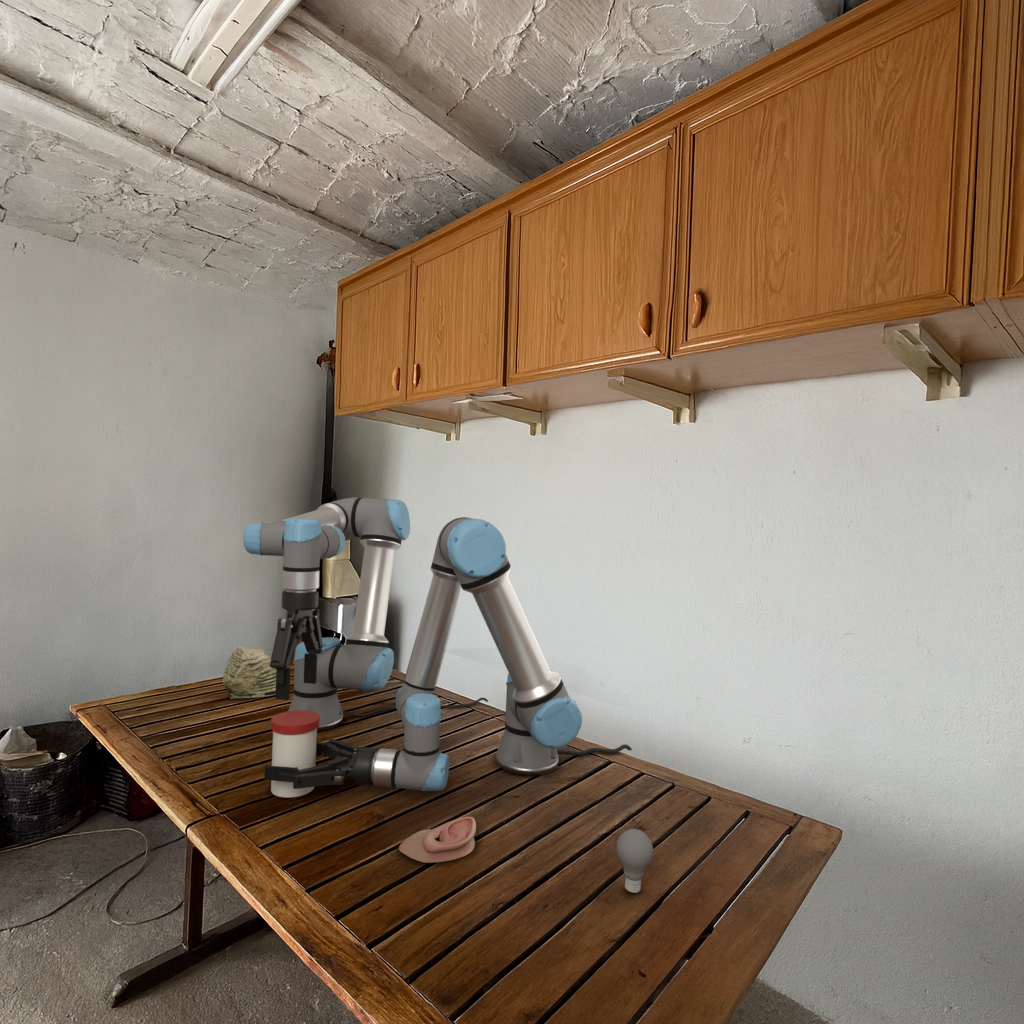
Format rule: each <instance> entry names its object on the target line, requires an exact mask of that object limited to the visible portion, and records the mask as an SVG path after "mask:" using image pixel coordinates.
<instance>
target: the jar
mask: <svg viewBox="0 0 1024 1024" xmlns="http://www.w3.org/2000/svg"><path fill="white" fill-rule="evenodd" d="M317 738H318V732H317V729H315V730H313V731H310V732H307V733H302V734H294V735H287V734H279V733H276V732H274V731H272V745H271V747H272V751H271V766H281V767H293V768H295V767H297V768H298V770H301V769H306V768H311V767H316V766H317V763H316V762H317V756H316V742H317ZM314 789H315V787H308V788H299V789H294V788H293V782H284V781H272V780H270V793H272V794H273V795H274V796H276V797H278V798H297V797H302V796H305V795H307V794H309V793H310V792H312V791H313V790H314Z"/></svg>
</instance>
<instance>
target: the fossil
mask: <svg viewBox="0 0 1024 1024" xmlns="http://www.w3.org/2000/svg"><path fill="white" fill-rule="evenodd" d="M270 661H271V657H270V656H269V655H268V654H267V653H266V652H265V650H264V649H263V648H260V647H258V648H251V647H247V646H246V647H245V646H238V647H237V648H236V649H235V650H233V651H232V653H231V656H230V657H229V659H228V660H227V663H226V666H225V668H224V671H223V675H222V676H223V677H222V685H223V687H224V688H225V690H226V691H228V693H229V698H230V699H250V698H264V697H271V696H275V694H276V668H271V667H270Z"/></svg>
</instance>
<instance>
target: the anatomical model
mask: <svg viewBox="0 0 1024 1024" xmlns="http://www.w3.org/2000/svg"><path fill="white" fill-rule="evenodd" d="M476 832H477V823H476V819H475V818H474V817H473V816H462V817H458V818H456V819H453V820H451V821H447V822H445V823H443V824H441V825H439V826H435V827H434V828H432V829H431V828H430V829H429V828H428V829H422V830H420V831H417V832H415V833H413V834H411V835H410V836H409V837H407V838H406V839H405V840H403V841H402V843H400V845H399V846H398V851H399V852H400V853H401V854H403V855H405V856H406V857H408V858H410V859H411V860H415V861H417V862H420V863H424V864H429V863H430V864H432V863H443V862H448V861H454V860H459V859H461V858H463V857H465V856H466V857H467V855H469V854H471V853H472V852H473V850H474V849H475V845H476V843H475V842H476V840H475V838H474V837H475V835H476Z"/></svg>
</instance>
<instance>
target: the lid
mask: <svg viewBox="0 0 1024 1024" xmlns="http://www.w3.org/2000/svg"><path fill="white" fill-rule="evenodd" d="M319 721H320V716H319V714H317V713H316V712H312V711H306V710H294V711H288V710H287V711H282V712H279V713H277V714H275V715H273V716H272V717H271V719H270V730H271V731H272V732H273V731H274V732H276V733H279V734H287V735H294V734H302V733H307V732H310V731H313V730H315V729H317V728H318V727H319Z"/></svg>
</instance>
